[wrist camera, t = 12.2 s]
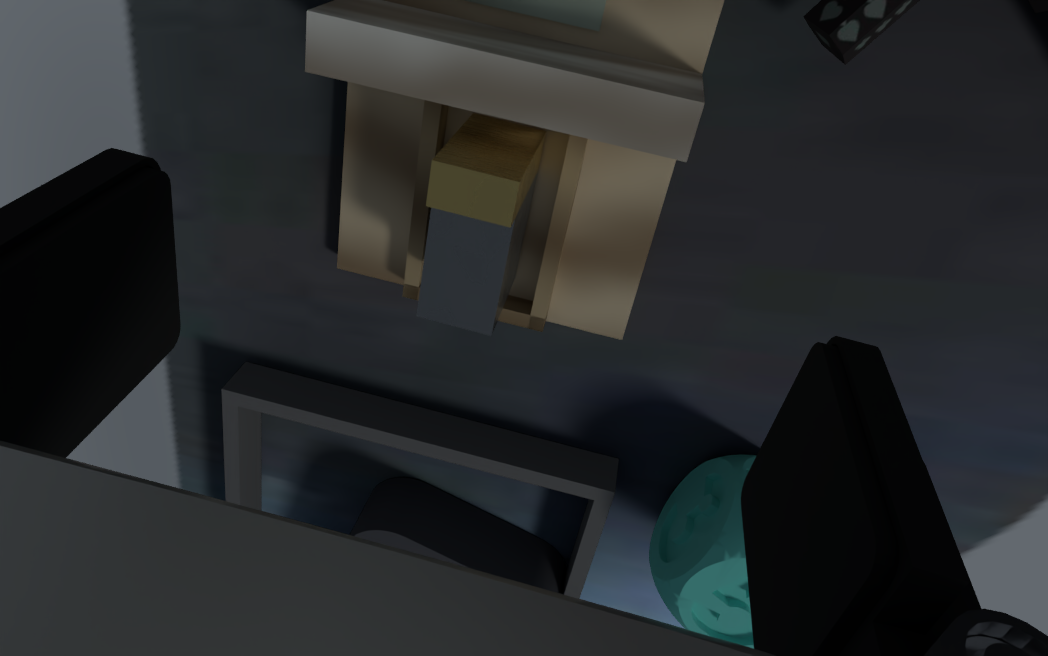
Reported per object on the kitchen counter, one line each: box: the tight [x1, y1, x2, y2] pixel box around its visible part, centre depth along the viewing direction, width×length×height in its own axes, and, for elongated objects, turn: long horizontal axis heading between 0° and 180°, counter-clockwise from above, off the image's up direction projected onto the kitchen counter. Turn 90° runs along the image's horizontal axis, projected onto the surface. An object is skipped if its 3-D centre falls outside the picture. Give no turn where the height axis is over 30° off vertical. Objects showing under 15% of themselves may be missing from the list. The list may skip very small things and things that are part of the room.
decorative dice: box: [649, 454, 756, 649], centre depth 44 cm, size 8×8×8 cm
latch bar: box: [416, 113, 546, 336], centre depth 35 cm, size 8×4×7 cm, turn 169°
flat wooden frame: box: [305, 0, 724, 340], centre depth 33 cm, size 26×16×6 cm, turn 169°
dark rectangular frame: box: [222, 362, 619, 599], centre depth 53 cm, size 24×24×3 cm
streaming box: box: [350, 478, 565, 594], centre depth 53 cm, size 14×14×5 cm
